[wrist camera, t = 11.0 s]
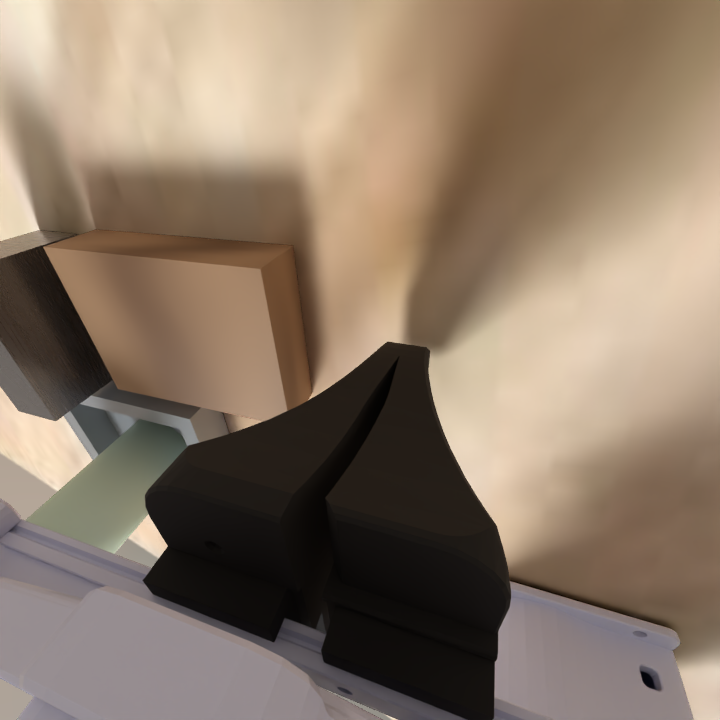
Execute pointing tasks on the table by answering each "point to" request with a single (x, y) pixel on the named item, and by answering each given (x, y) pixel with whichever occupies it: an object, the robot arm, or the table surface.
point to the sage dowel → (112, 488)
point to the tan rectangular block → (192, 318)
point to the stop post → (43, 333)
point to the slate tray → (123, 409)
